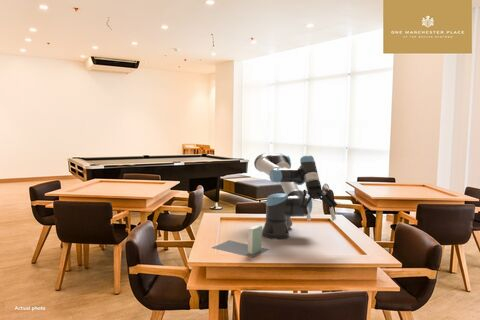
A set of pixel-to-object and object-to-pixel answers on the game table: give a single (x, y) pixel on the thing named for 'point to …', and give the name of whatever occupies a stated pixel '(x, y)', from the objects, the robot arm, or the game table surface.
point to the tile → (254, 239)
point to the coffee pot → (288, 220)
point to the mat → (238, 248)
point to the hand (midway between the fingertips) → (322, 220)
